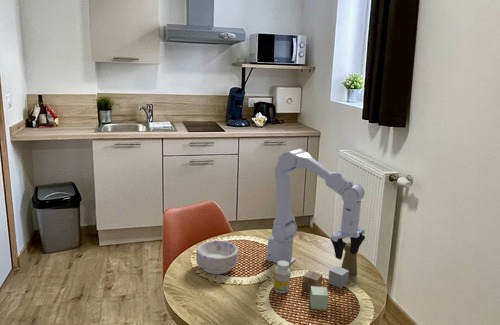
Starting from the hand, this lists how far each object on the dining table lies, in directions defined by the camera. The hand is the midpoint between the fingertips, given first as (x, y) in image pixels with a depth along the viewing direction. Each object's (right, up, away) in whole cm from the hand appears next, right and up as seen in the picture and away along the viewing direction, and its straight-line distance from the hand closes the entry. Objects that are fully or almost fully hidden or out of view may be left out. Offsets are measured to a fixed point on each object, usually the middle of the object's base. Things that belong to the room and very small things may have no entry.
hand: (345, 256), depth 144 cm
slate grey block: (-3, -10, +1) cm, 10 cm away
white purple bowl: (-46, -6, +8) cm, 47 cm away
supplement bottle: (-23, -10, -4) cm, 26 cm away
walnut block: (-13, -10, -3) cm, 17 cm away
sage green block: (-12, -13, -13) cm, 22 cm away
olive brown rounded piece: (+3, -8, +10) cm, 14 cm away
